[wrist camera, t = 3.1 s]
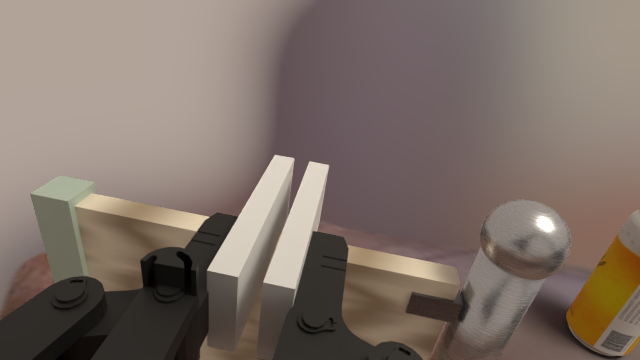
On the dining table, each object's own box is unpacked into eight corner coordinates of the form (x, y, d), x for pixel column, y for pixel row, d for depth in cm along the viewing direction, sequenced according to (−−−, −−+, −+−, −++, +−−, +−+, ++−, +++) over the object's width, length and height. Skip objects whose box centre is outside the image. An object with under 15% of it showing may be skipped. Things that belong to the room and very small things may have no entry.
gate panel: (409, 389, 30) (466, 257, 23) (411, 420, 28) (474, 284, 21) (91, 318, 31) (59, 175, 25) (70, 342, 29) (30, 193, 23)
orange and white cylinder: (608, 319, 43) (690, 209, 36) (639, 367, 38) (743, 250, 30) (553, 307, 43) (623, 196, 36) (577, 353, 38) (663, 234, 31)
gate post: (453, 402, 32) (566, 192, 22) (464, 464, 28) (608, 242, 18) (399, 390, 32) (485, 177, 22) (401, 449, 28) (508, 222, 18)
